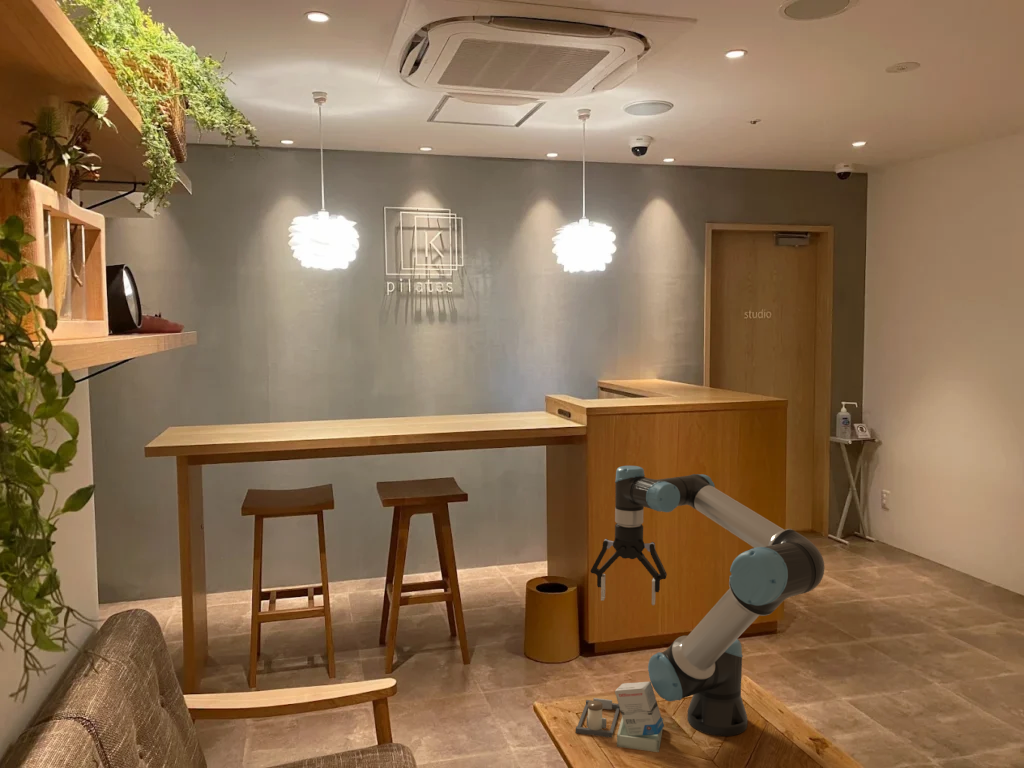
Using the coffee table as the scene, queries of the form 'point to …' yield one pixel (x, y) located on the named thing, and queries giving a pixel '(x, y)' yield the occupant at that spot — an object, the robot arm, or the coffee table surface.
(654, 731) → the ink box
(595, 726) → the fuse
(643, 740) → the tray
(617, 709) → the rail
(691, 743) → the coffee table surface
